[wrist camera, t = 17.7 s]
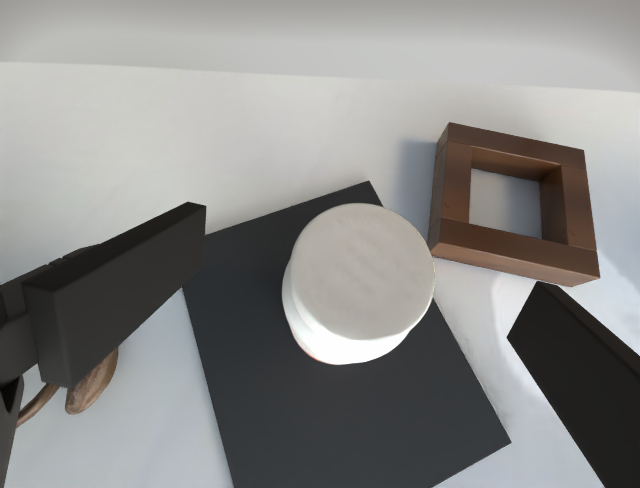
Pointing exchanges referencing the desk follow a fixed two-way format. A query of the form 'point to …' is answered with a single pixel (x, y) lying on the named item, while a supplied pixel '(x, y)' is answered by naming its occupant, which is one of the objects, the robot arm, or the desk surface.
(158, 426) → the desk surface
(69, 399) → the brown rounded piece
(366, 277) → the pill bottle
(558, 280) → the holder
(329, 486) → the desk mat
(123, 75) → the desk surface
